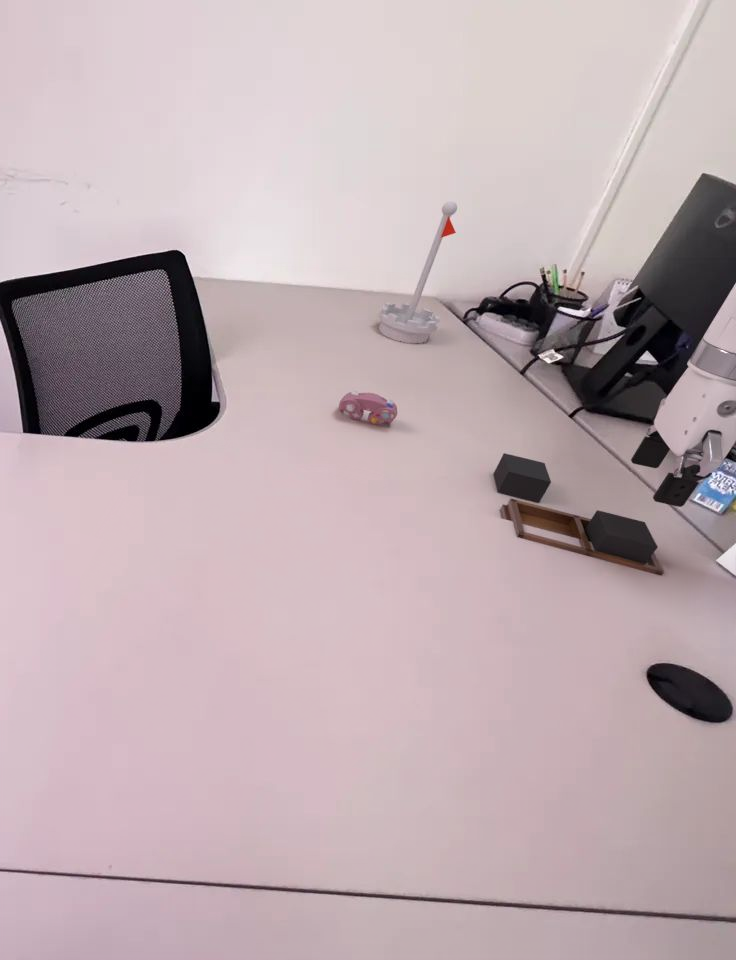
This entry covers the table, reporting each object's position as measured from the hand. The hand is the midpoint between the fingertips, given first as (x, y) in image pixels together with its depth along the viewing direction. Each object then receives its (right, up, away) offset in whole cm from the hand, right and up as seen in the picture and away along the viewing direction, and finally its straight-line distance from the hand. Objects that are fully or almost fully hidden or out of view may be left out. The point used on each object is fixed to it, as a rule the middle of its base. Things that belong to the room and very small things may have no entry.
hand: (654, 483), depth 88 cm
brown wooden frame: (-5, -9, +8) cm, 13 cm away
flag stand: (0, +35, +72) cm, 80 cm away
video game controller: (-25, +11, +34) cm, 43 cm away
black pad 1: (-6, -1, +19) cm, 20 cm away
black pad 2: (-1, -9, +6) cm, 11 cm away
